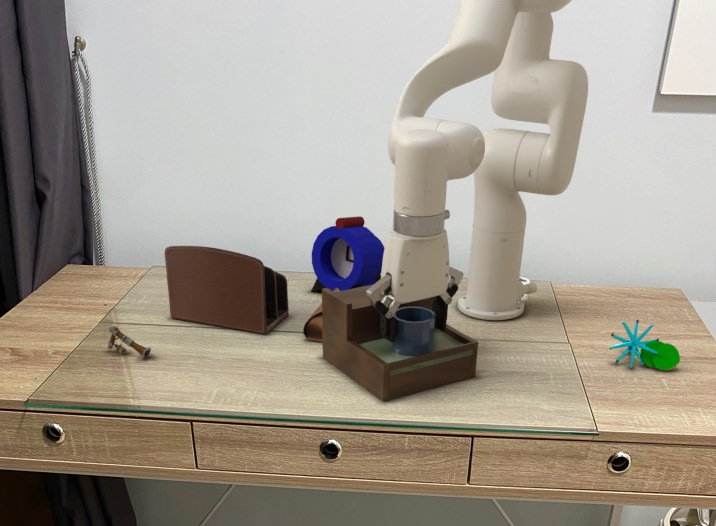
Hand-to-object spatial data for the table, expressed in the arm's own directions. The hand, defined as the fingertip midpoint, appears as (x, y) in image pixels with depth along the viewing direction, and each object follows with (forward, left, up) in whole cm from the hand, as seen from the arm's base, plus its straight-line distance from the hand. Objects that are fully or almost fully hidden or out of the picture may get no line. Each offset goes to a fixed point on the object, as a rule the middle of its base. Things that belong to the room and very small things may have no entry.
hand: (413, 332), depth 137 cm
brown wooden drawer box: (0, -4, -7) cm, 8 cm away
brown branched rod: (+37, -31, -8) cm, 49 cm away
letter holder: (+15, -38, -8) cm, 41 cm away
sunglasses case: (-1, -25, -8) cm, 26 cm away
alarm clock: (-12, -39, -8) cm, 41 cm away
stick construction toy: (-37, +15, -8) cm, 41 cm away
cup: (0, 0, -2) cm, 2 cm away
